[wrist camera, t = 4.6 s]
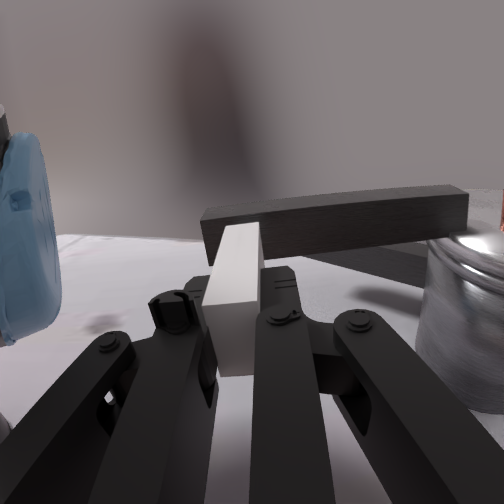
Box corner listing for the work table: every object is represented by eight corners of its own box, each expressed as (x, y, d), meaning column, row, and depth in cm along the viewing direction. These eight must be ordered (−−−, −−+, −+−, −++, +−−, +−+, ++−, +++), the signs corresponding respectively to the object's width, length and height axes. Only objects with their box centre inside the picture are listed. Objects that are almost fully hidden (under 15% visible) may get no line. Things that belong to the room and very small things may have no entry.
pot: (344, 494, 14) (367, 382, 10) (302, 287, 39) (294, 198, 34) (598, 379, 13) (644, 272, 8) (479, 260, 37) (487, 184, 32)
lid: (537, 197, 25) (539, 164, 23) (642, 258, 9) (651, 213, 8) (227, 227, 27) (219, 182, 26) (189, 371, 12) (161, 284, 10)
